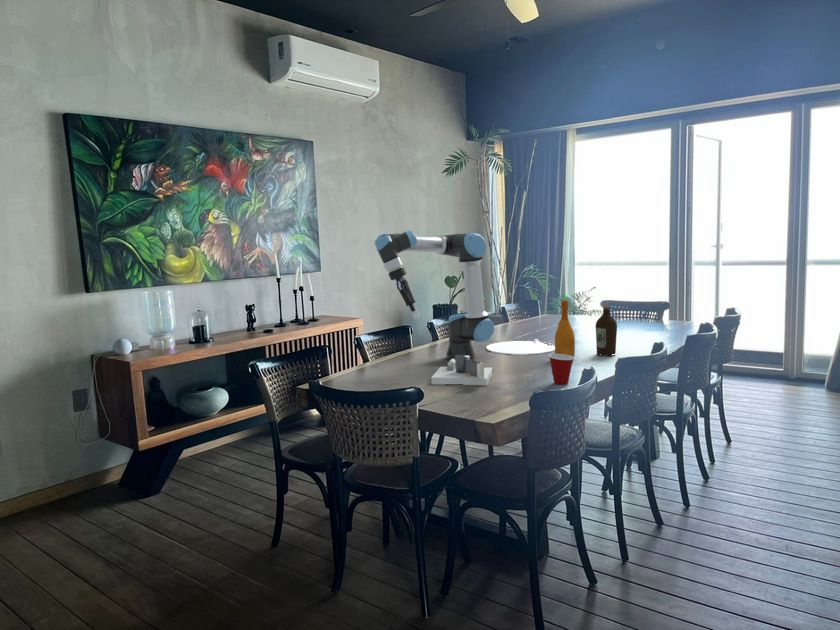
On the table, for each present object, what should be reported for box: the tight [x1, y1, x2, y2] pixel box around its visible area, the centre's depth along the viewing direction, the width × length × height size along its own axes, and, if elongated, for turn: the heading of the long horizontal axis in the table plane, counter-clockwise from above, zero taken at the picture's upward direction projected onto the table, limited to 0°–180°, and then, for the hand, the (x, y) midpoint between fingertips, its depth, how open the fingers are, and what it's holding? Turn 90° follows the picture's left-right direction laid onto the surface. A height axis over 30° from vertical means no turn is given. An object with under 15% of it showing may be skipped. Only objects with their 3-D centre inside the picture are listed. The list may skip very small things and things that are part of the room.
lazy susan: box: [485, 338, 555, 356], centre depth 343 cm, size 40×39×3 cm
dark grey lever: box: [454, 354, 485, 379], centre depth 266 cm, size 21×6×7 cm, turn 22°
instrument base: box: [430, 359, 493, 386], centre depth 273 cm, size 22×24×7 cm
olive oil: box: [595, 306, 618, 355], centre depth 316 cm, size 11×11×25 cm
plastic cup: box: [548, 353, 576, 386], centre depth 259 cm, size 11×11×12 cm
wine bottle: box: [554, 300, 576, 357], centre depth 307 cm, size 10×10×30 cm
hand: (417, 317), depth 274 cm, fingers closed
